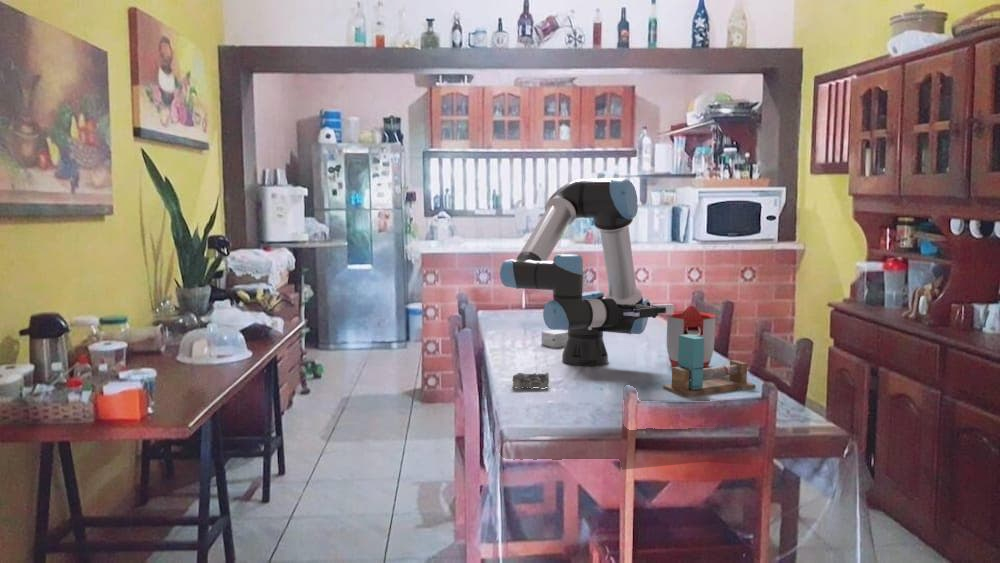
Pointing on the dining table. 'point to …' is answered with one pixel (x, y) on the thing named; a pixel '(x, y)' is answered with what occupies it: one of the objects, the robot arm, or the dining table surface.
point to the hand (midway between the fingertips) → (672, 308)
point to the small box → (554, 338)
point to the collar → (692, 358)
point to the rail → (734, 381)
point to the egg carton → (530, 380)
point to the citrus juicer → (690, 332)
